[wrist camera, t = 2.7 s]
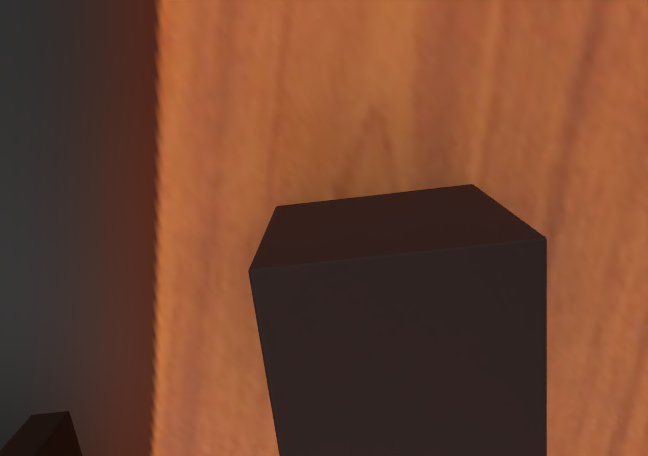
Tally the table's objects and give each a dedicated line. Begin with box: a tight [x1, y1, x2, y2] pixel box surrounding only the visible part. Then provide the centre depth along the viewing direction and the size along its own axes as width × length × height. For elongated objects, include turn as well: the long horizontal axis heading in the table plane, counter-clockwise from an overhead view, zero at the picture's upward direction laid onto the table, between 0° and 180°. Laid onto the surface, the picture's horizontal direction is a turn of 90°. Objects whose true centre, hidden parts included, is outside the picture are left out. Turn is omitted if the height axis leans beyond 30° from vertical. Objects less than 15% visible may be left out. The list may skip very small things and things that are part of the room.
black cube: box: [249, 184, 547, 456], centre depth 14 cm, size 6×7×6 cm
